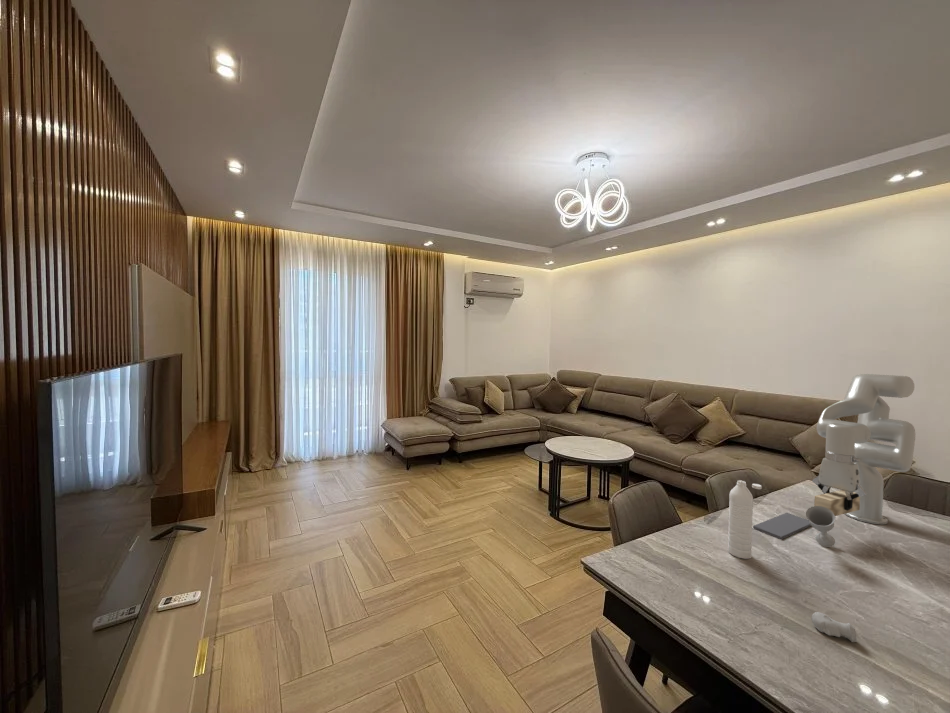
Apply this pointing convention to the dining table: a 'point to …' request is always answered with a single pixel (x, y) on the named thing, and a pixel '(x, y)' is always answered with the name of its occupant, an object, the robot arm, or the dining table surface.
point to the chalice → (822, 524)
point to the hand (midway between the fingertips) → (837, 506)
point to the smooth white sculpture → (833, 626)
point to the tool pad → (783, 525)
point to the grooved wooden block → (836, 502)
